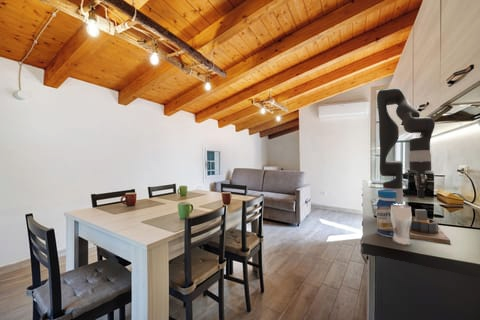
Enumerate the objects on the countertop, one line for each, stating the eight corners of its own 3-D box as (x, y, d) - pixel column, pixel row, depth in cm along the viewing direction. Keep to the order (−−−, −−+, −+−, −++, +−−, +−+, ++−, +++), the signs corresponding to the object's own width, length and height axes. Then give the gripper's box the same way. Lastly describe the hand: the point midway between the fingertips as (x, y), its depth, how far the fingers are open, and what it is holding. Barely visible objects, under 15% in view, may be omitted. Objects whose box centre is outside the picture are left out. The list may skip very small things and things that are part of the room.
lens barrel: (406, 224, 99) (405, 215, 99) (434, 228, 93) (434, 218, 93) (408, 231, 90) (408, 221, 90) (440, 235, 84) (440, 224, 84)
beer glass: (391, 237, 87) (390, 203, 87) (412, 241, 83) (411, 205, 83) (390, 242, 82) (389, 206, 82) (413, 247, 77) (411, 208, 77)
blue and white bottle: (404, 236, 88) (403, 191, 88) (390, 239, 85) (389, 192, 86) (385, 230, 96) (384, 188, 96) (372, 232, 93) (371, 190, 94)
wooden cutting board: (400, 224, 104) (400, 221, 104) (437, 229, 96) (437, 226, 96) (405, 237, 87) (405, 233, 87) (450, 244, 79) (450, 240, 79)
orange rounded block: (413, 227, 95) (411, 208, 95) (427, 228, 93) (425, 209, 93) (417, 230, 90) (415, 210, 91) (431, 231, 88) (430, 211, 88)
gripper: (407, 160, 99) (408, 195, 99) (411, 160, 89) (412, 199, 88) (427, 160, 95) (429, 196, 95) (434, 160, 84) (435, 201, 84)
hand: (421, 198), depth 92 cm, fingers closed
